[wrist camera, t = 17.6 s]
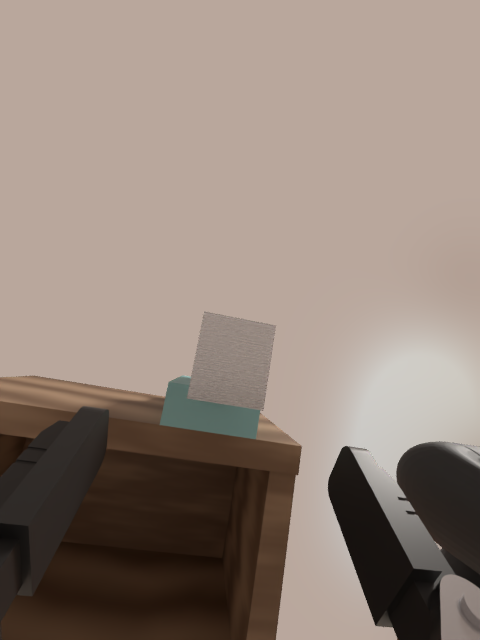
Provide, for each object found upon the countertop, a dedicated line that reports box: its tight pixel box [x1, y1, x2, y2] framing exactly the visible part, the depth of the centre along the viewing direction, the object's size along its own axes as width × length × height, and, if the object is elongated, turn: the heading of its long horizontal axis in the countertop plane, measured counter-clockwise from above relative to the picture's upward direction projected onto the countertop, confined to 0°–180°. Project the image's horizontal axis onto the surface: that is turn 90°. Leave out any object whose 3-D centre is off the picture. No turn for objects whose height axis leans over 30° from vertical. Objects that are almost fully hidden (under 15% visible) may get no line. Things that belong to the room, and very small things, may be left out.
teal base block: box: [160, 376, 260, 439], centre depth 27 cm, size 15×7×3 cm, turn 7°
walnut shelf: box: [0, 376, 301, 640], centre depth 24 cm, size 16×28×32 cm, turn 98°
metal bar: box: [187, 312, 276, 411], centre depth 23 cm, size 20×4×4 cm, turn 8°
